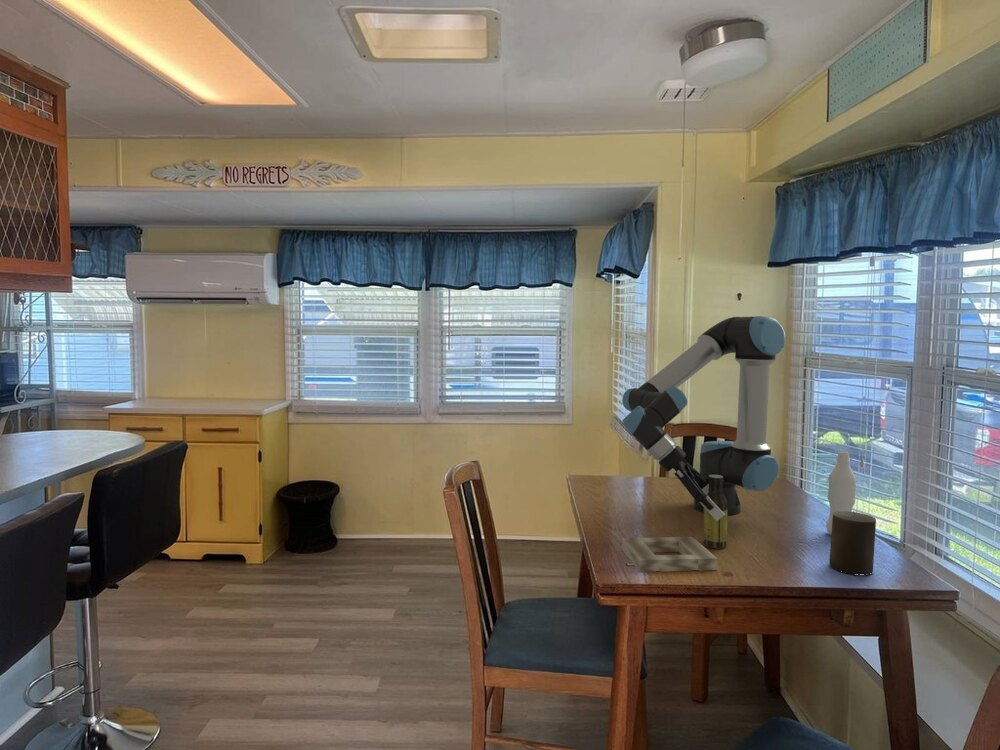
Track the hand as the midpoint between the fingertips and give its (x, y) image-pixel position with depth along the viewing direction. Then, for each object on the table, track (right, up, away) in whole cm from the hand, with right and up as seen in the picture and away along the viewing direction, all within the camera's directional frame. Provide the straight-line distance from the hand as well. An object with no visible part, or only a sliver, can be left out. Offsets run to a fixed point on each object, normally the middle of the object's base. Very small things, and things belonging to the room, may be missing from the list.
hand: (721, 510), depth 169 cm
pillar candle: (+28, -12, -14) cm, 34 cm away
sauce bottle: (-1, -10, +1) cm, 10 cm away
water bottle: (+39, -10, +11) cm, 42 cm away
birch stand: (-18, -11, -9) cm, 22 cm away
